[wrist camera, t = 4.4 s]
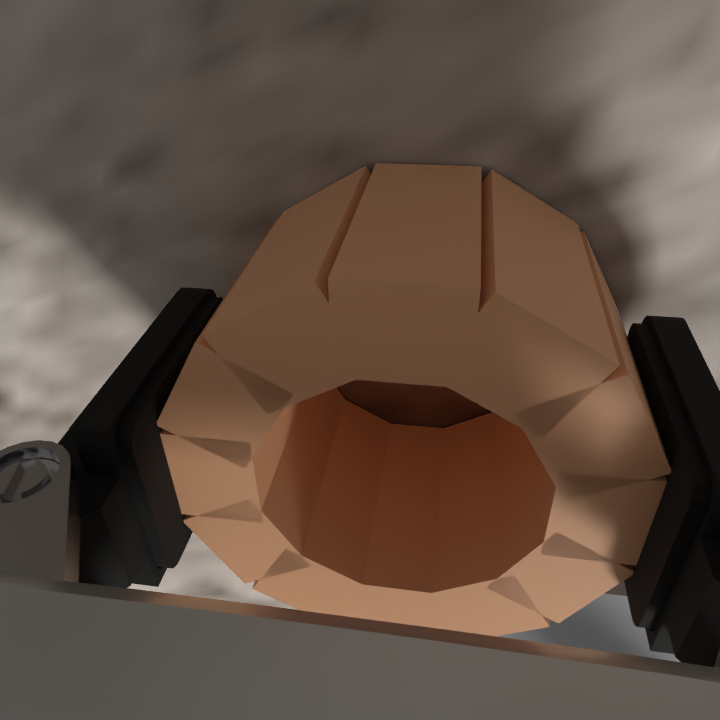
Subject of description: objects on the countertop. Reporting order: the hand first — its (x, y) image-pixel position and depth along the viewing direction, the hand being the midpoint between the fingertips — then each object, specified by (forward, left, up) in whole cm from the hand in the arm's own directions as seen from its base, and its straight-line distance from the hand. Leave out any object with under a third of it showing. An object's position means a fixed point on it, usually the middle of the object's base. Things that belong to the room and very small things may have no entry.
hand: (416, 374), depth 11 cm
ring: (0, 0, -1) cm, 1 cm away
